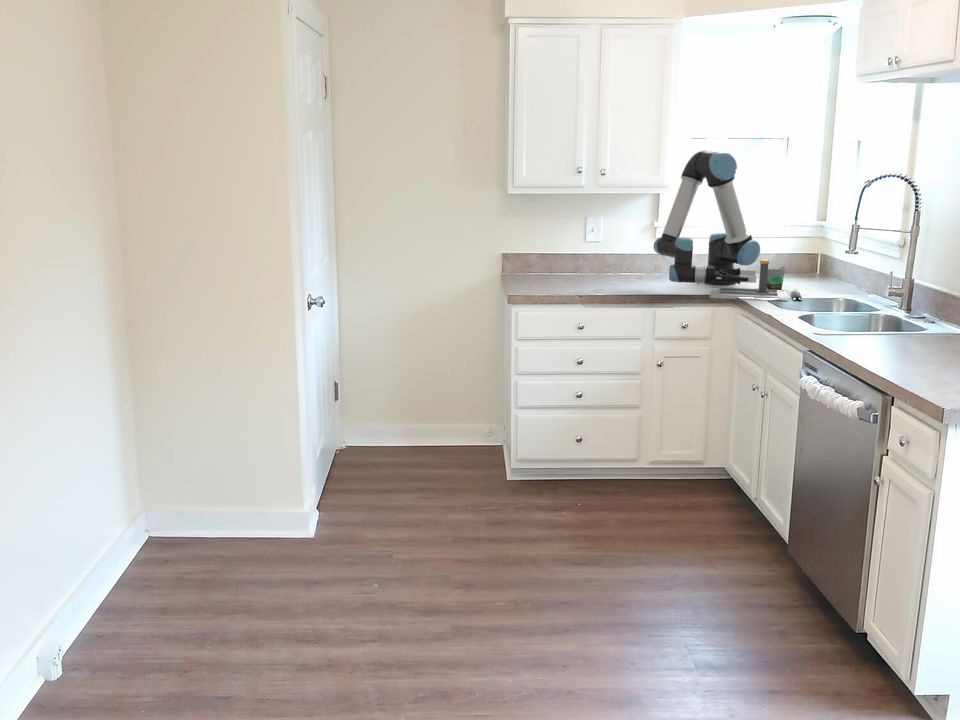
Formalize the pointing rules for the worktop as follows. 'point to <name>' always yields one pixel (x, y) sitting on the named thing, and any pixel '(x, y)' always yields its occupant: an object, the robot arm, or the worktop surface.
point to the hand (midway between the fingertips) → (756, 276)
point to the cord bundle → (795, 294)
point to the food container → (775, 278)
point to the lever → (763, 276)
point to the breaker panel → (744, 293)
